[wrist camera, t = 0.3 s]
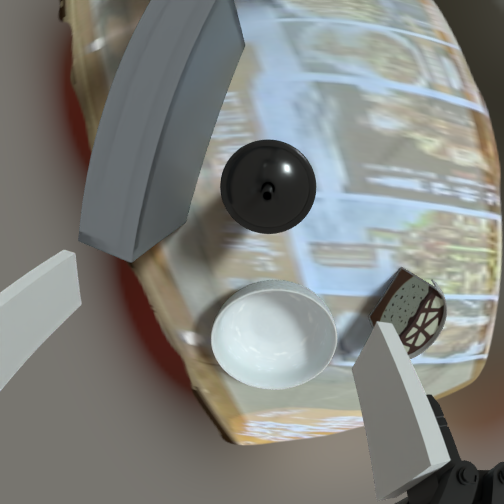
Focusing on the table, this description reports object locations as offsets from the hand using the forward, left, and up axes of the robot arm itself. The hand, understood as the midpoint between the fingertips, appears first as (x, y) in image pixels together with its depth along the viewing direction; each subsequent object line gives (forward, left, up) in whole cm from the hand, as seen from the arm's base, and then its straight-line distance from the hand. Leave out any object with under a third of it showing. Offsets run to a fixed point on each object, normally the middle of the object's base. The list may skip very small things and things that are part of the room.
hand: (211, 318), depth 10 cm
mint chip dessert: (+10, +24, -27) cm, 37 cm away
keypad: (-10, -10, -26) cm, 30 cm away
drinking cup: (-4, +1, -27) cm, 27 cm away
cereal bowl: (+16, +5, -27) cm, 32 cm away
